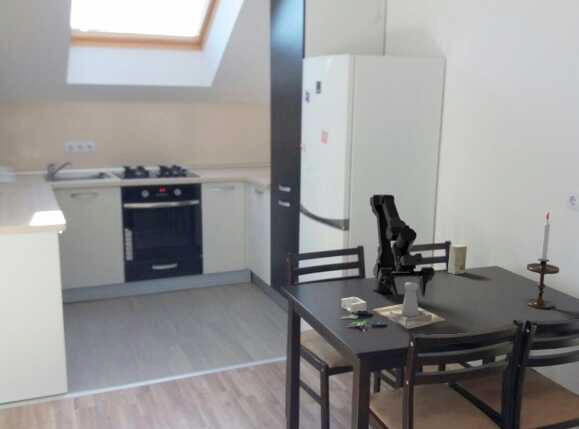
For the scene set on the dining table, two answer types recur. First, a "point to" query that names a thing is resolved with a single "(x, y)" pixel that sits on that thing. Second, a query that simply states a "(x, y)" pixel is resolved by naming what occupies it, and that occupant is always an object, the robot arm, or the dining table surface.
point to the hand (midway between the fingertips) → (410, 296)
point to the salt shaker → (410, 301)
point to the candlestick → (542, 271)
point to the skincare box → (457, 259)
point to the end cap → (353, 304)
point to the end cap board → (397, 317)
